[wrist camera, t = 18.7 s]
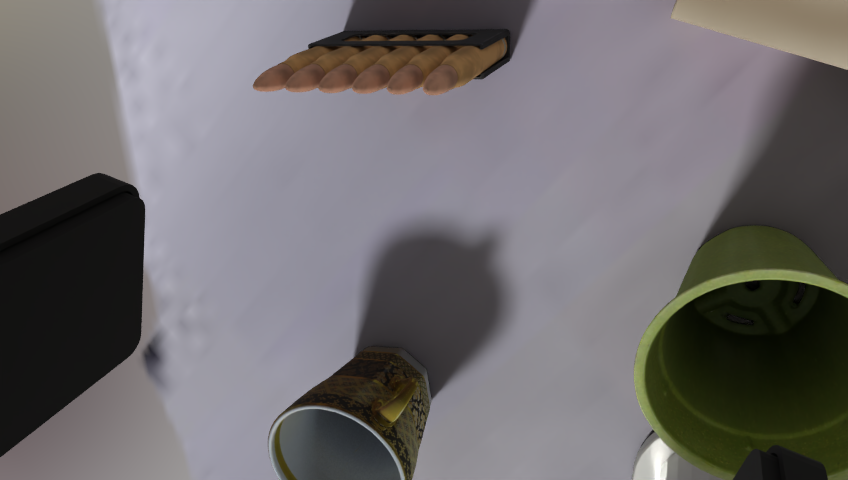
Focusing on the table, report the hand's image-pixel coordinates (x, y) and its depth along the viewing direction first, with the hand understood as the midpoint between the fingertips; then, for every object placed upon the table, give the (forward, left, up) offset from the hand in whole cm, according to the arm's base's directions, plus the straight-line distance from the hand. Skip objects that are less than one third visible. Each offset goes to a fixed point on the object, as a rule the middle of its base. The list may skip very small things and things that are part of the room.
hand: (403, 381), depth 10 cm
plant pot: (-11, -12, -34) cm, 37 cm away
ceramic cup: (-28, +7, -34) cm, 44 cm away
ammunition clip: (-4, +11, -34) cm, 36 cm away
